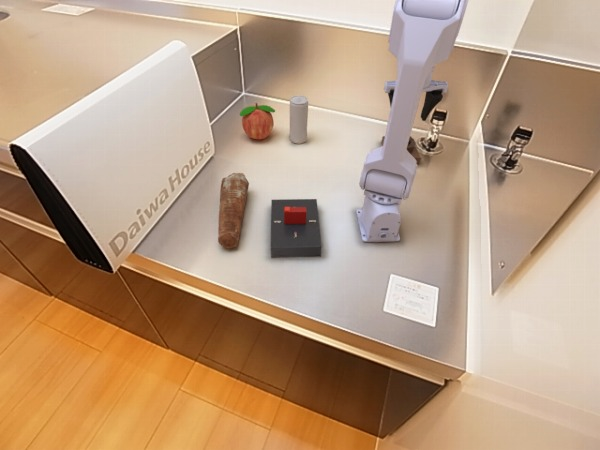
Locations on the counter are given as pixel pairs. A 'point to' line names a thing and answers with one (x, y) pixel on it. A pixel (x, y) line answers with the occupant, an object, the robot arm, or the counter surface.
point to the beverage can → (298, 119)
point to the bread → (231, 208)
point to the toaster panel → (295, 230)
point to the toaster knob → (294, 215)
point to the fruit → (257, 121)
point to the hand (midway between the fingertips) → (407, 119)
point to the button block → (410, 149)
